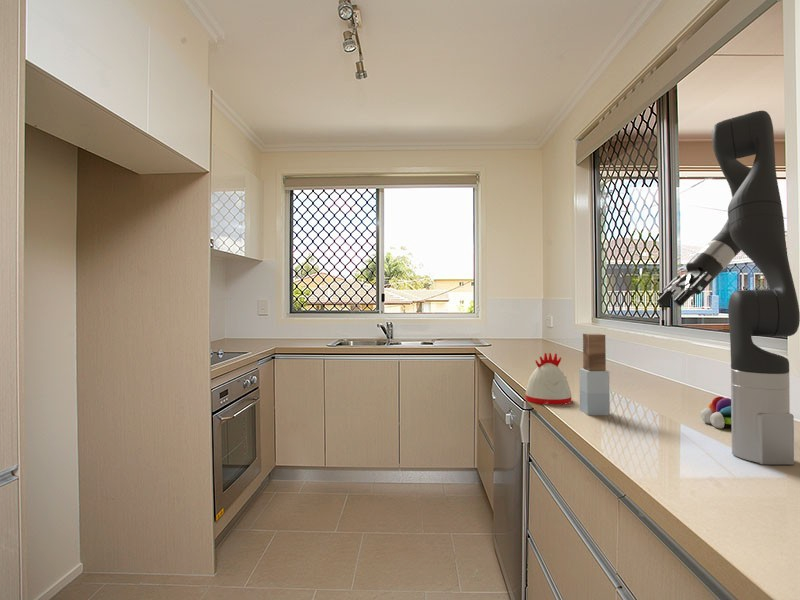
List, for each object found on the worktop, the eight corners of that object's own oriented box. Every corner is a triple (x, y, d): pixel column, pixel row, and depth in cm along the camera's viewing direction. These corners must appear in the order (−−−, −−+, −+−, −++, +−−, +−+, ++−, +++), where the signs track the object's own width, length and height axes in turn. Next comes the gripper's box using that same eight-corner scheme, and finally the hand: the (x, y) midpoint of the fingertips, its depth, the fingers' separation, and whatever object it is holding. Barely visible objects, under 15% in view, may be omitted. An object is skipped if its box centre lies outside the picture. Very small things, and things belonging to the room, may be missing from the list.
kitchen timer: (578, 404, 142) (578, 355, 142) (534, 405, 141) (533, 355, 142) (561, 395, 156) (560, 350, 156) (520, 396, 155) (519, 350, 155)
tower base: (609, 415, 128) (609, 393, 128) (587, 415, 129) (587, 393, 129) (600, 410, 134) (600, 389, 134) (579, 410, 135) (579, 389, 135)
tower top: (609, 393, 128) (609, 371, 128) (587, 393, 129) (587, 371, 129) (600, 389, 134) (600, 368, 134) (579, 389, 135) (579, 368, 135)
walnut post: (605, 371, 129) (605, 334, 129) (589, 371, 129) (588, 334, 129) (599, 368, 134) (598, 333, 134) (583, 368, 134) (582, 333, 134)
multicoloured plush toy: (731, 421, 121) (731, 393, 121) (756, 432, 111) (755, 401, 111) (696, 421, 122) (696, 393, 122) (718, 431, 112) (718, 401, 112)
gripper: (684, 254, 134) (644, 294, 134) (717, 248, 120) (672, 293, 120) (703, 272, 134) (663, 313, 134) (738, 269, 120) (693, 314, 120)
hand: (667, 303), depth 127 cm, fingers open, 8 cm apart
